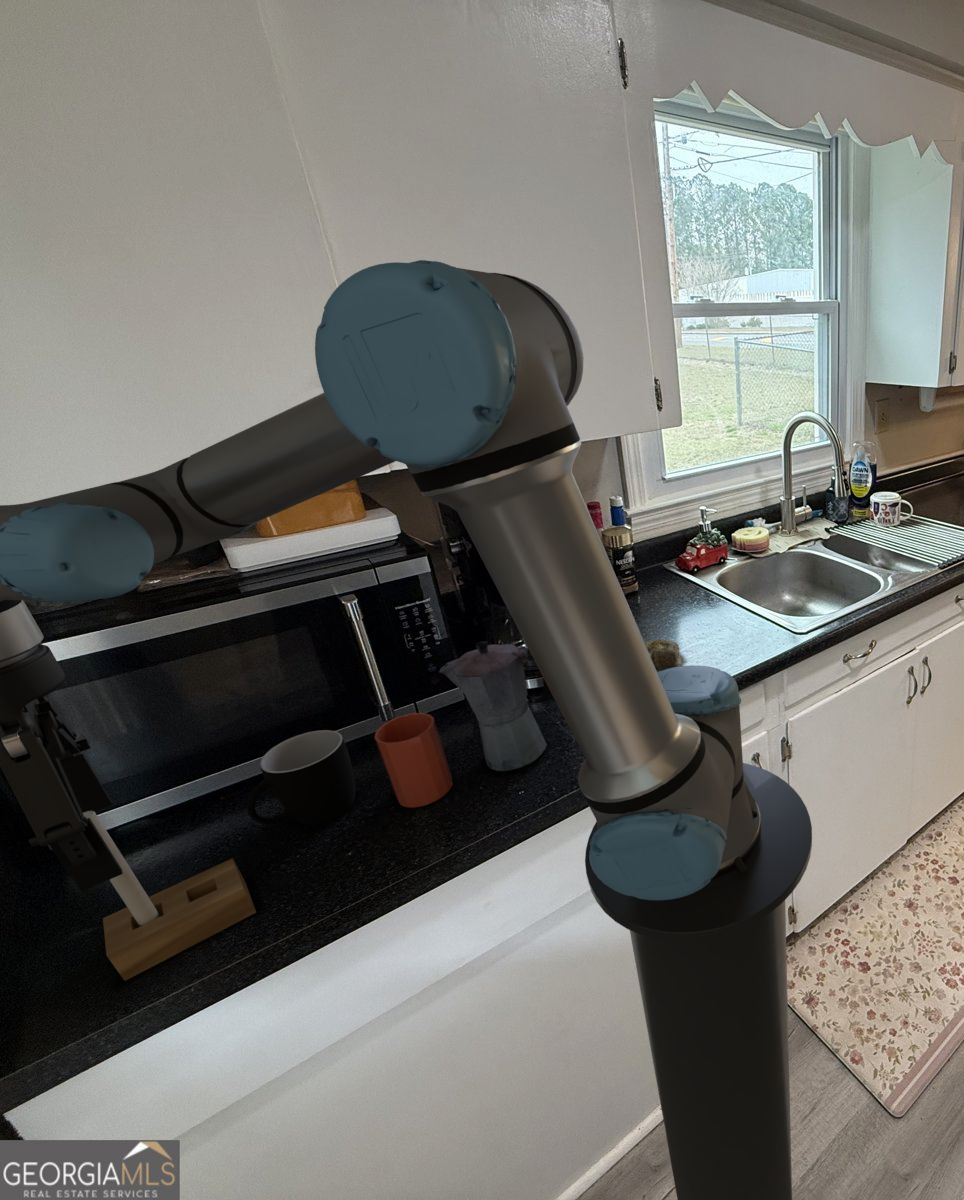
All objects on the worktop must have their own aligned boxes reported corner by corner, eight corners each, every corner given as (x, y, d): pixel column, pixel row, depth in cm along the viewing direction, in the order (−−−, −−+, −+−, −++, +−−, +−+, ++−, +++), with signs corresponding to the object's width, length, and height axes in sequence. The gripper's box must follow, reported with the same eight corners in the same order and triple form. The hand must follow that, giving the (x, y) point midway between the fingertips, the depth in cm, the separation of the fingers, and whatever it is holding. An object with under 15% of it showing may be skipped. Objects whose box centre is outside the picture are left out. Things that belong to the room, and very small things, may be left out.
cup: (460, 788, 90) (441, 726, 85) (407, 815, 85) (384, 750, 80) (441, 767, 94) (422, 707, 89) (390, 791, 89) (367, 729, 84)
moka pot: (468, 745, 99) (437, 635, 90) (570, 725, 103) (549, 618, 95) (461, 784, 90) (425, 666, 82) (571, 760, 95) (548, 646, 87)
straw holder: (256, 912, 71) (243, 887, 69) (124, 981, 64) (106, 955, 62) (245, 882, 75) (232, 857, 73) (119, 943, 68) (102, 918, 66)
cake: (624, 664, 123) (620, 639, 121) (670, 649, 128) (667, 626, 126) (644, 681, 115) (640, 655, 113) (692, 665, 120) (689, 640, 119)
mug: (342, 779, 91) (319, 722, 87) (378, 798, 88) (357, 740, 84) (247, 834, 82) (216, 773, 78) (283, 858, 78) (253, 796, 74)
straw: (174, 940, 68) (94, 816, 60) (154, 950, 67) (71, 825, 59) (172, 931, 69) (94, 808, 61) (152, 941, 68) (70, 817, 60)
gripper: (-74, 629, 58) (41, 803, 67) (-115, 739, 43) (41, 945, 52) (45, 604, 63) (138, 769, 72) (47, 694, 48) (164, 889, 57)
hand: (98, 843), depth 62 cm, fingers open, 13 cm apart
